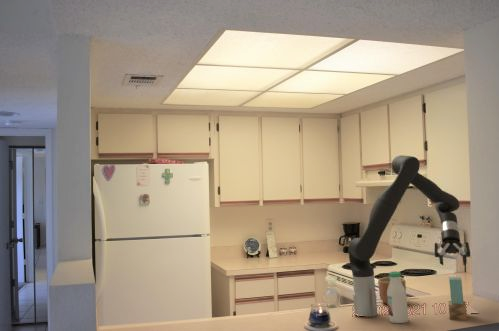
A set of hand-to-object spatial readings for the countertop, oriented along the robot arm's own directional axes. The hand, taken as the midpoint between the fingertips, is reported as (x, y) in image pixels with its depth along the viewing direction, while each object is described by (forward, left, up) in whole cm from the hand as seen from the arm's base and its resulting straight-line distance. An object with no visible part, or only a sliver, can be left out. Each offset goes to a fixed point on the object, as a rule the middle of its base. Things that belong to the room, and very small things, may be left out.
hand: (453, 264), depth 208 cm
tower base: (0, -7, -20) cm, 22 cm away
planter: (-27, +14, -21) cm, 37 cm away
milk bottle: (-23, -14, -21) cm, 34 cm away
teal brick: (0, -7, -14) cm, 16 cm away
